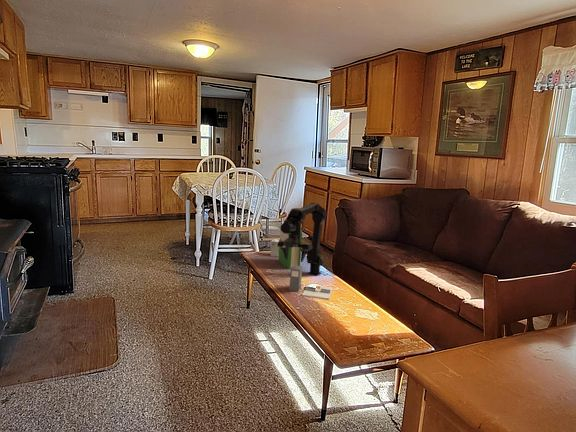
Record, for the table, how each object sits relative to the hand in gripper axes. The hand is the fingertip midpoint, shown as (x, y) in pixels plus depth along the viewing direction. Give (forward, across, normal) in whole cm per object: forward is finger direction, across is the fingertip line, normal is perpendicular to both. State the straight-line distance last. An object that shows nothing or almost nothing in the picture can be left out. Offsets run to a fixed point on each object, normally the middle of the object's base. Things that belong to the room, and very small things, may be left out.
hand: (294, 260), depth 210 cm
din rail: (+15, +14, +2) cm, 21 cm away
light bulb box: (+8, -36, +47) cm, 60 cm away
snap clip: (+13, +14, +2) cm, 19 cm away
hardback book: (+10, -21, +34) cm, 41 cm away
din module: (+15, +2, -1) cm, 15 cm away
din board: (+15, +14, +2) cm, 21 cm away
